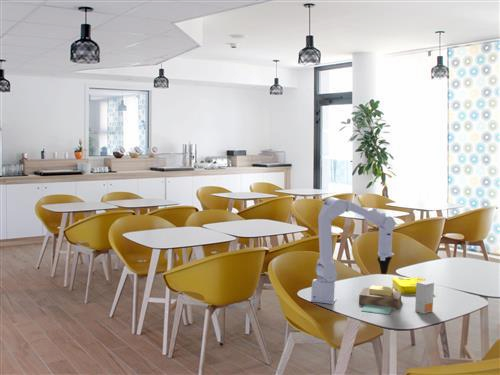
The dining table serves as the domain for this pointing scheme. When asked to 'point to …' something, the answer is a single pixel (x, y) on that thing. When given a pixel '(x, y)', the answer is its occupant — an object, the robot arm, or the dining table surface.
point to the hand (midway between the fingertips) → (383, 273)
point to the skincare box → (424, 297)
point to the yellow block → (381, 290)
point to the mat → (376, 309)
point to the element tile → (406, 285)
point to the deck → (380, 299)
